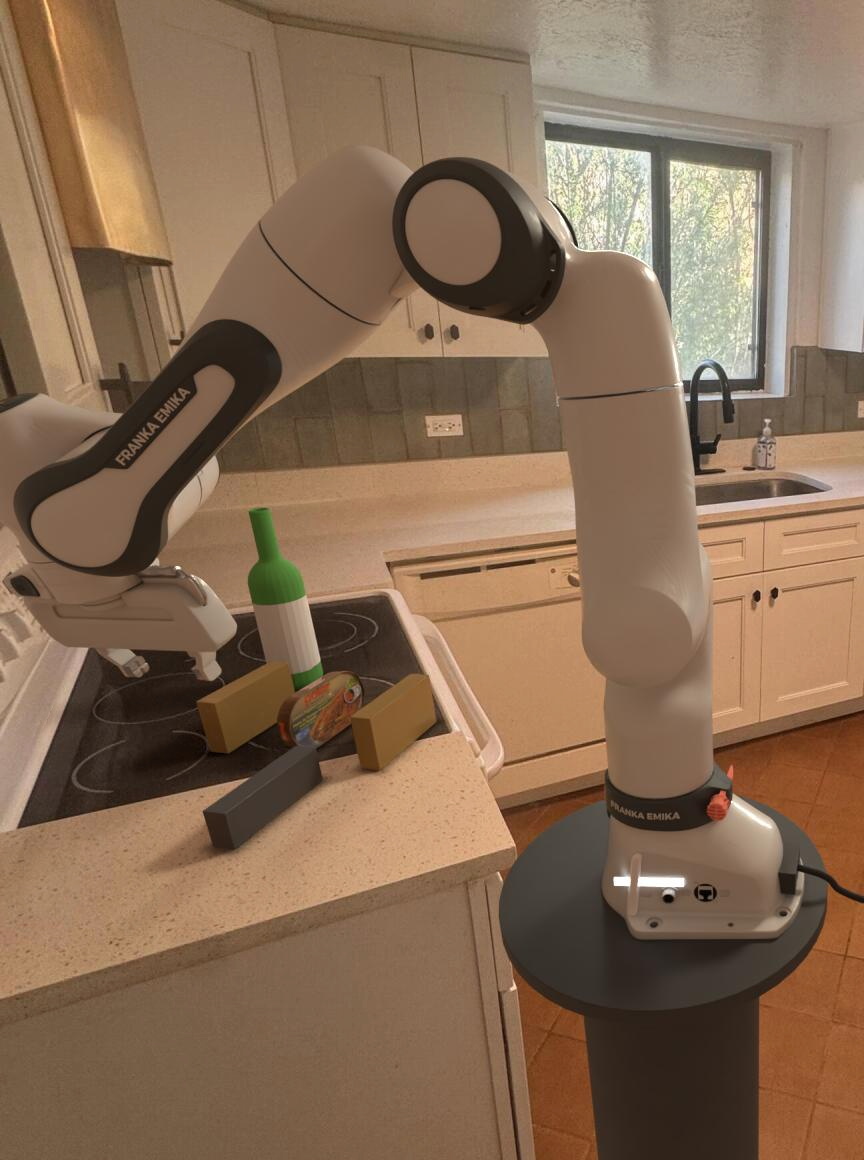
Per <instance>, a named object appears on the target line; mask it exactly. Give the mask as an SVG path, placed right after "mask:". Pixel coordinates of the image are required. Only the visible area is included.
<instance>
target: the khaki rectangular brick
mask: <svg viewBox="0 0 864 1160" xmlns="http://www.w3.org/2000/svg"><path fill="white" fill-rule="evenodd" d="M430 679H431V678H430V674H423V673H413V672H412V673H409V674H408V675H407V676H405V677H404V678H402V679H401V680H400V681H399V682H397V683H395V684H394V685H392V686H391V687H390V688H389V689H387V690H385V691H384V692H383V693H381V694H380V695H379V696H377V697H376V698H374V699H373V700H372V701H370V702H368V703H367V704H366V705H364V706H363V708H362V709H360V710H359V711H358V712H356V713H355V714H353V715H352V716H351V717H350V719H351V728H352V733H353V738H354V743H355V747H356V748H355V749H356V752H357V757H358V762H359V763H358V764H359V766H360V769H363V770H365V769H366V770H373V771H381V770H383V769H384V768H385V767H386V766H387V765H388V764H389V763H391V762H392V761H393V760H394V759H396V757H398V756H399V755H400V754H401V753H403V752H404V751H405V750H406V749H407V748H408V747H409V746H411V745H412V744H413V743H414V742H415V741H416V740H417V739H419V737H421V736H422V735H423V734H424V733H426V732H427V731H428V730H429V729H430V728H432V727H433V726H434V725H435V724H436V723H437V717H436V716H437V715H436V711H435V705H434V704H435V703H434V698H433V691H432V685H431V680H430Z"/></svg>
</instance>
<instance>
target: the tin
mask: <svg viewBox="0 0 864 1160" xmlns="http://www.w3.org/2000/svg"><path fill="white" fill-rule="evenodd" d="M365 700H366V690H365V687H364V683H363V681H362V680H361V678H360V676H359V675H358V674H356V673H355V672H353V671H350V670H343V671H330V672H327V673H326V674H323V676H322V677H320V678H319V679H317V680H315V681H314V682H312V683H310V684H309V685H307V686H305V687H304V688H302V689H300V690H298V691H295V693H294V694H292V695H291V696H289V697H288V698H287V699H286V700H285V701H284V702H283V704H282V706H281V708H280V710H279V713H278V716H277V723H276V724H277V731H278V734H279V736H280V739H281V740H282V742H283V743H284V744H285V745H286V746H288V747H289V748H291V749H292V748H294V747H295V746H304V747H313V748H316V749H318V748H320V747H322V746H323V745H324V744H325V743H327V742H328V741H330V740H331V739H332V738H334V737H336V736H337V735H338V734H339V733H340V732H342V731H343V730H345V729H346V728H348V727H350V726H352V724H351V719H350V717H351V716H352V715H353V714H355V713H356V712H358V711H359V710H360V709H362V708H363V707H365Z"/></svg>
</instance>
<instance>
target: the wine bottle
mask: <svg viewBox="0 0 864 1160" xmlns="http://www.w3.org/2000/svg"><path fill="white" fill-rule="evenodd" d="M248 516H249V520H250V524H251V529H252V533H253V538H254V543H255V547H256V551H257V556H258V560H257V561H256V563H254V565H253V566H252V567H251V569H250V570H249V572H248V575H247V586H248V591H249V595H250V599H251V604H252V609H253V612H254V613H253V614H254V617H255V621H256V626H257V629H258V634H259V637H260V642H261V645H262V650H263V655H264V659H265V662H266V663H265V664H267V663H269V662H271V661H275V662H286V663H288V664H289V669H290V673H291V677H292V682H293V686H294V690H295V692H297V691H299V690H300V689H302V688H304V687H305V686H307V685H309V684H310V683H312V682H314V681H315V680H317V679H319V678H320V677H322V676H324V669H323V665H322V660H321V656H320V650H319V646H318V641H317V637H316V632H315V628H314V624H313V619H312V614H311V610H310V606H309V600H308V596H307V592H306V588H305V583H304V579H303V576H302V573H301V571H300V569H299V568H298V566H296V564H294V563H293V562H291V560H288V559H286V558H284V557H283V556H282V554H281V551H280V546H279V542H278V538H277V534H276V529H275V525H274V521H273V516H272V512H271V509H270V508H268V507H255V508H252V509H250V510H248Z"/></svg>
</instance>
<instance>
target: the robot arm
mask: <svg viewBox="0 0 864 1160" xmlns="http://www.w3.org/2000/svg"><path fill="white" fill-rule="evenodd" d="M571 223H572V222H571V221H570V220H569V218H568V217H567V215H566V214H565V213H564V212H563V210H562V209H561V208H560V207H559V206H558V205H557V204H556V203H554V202H553V200H551V199H550V198H548V197H546V196H545V195H543V193H542V192H540V190H539V189H537V188H536V187H535V186H534V185H533V184H532V183H530V182H529V181H527V180H526V179H524V178H523V177H520V176H519V175H516V174H514V173H513V172H510V171H508V170H504V169H502V168H499V167H498V166H496V165H494V164H492V163H490V162H489V161H485V160H482V159H479V158H474V157H468V156H467V157H466V156H453V157H444V158H440V159H436V160H433V161H431V162H428V163H426V164H424V165H422V166H421V167H419V168H418V169H416V170H415V171H412V169H410V168H409V167H408V166H407V165H406V164H405V163H403V162H401V160H399V159H397V158H396V157H394V156H393V155H391V154H389V153H387V152H386V151H384V150H381V149H378V148H377V147H374V146H370V145H366V144H348V145H345V146H342V147H340V148H339V149H337V150H336V151H334V152H332V153H331V154H330V155H328V156H327V157H325V158H324V159H322V160H321V161H320V162H318V163H317V164H316V165H315V166H313V167H312V168H310V170H308V171H307V172H306V173H304V174H303V175H302V176H301V177H299V179H298V180H296V181H295V182H294V183H293V184H292V185H291V186H290V187H289V188H287V190H285V192H284V193H283V194H282V195H281V196H279V198H278V199H277V200H276V201H274V203H273V204H272V205H271V206H270V207H269V208H268V209H267V210H266V212H265V213H264V214H263V215H262V216H261V218H260V219H259V220H258V221H257V222H256V224H255V225H254V226H253V227H252V228H251V230H250V231H249V232H248V234H247V235H246V236H245V238H244V239H243V240H242V242H241V244H240V245H239V247H238V248H237V250H236V251H235V253H234V254H233V256H232V257H231V259H230V260H229V262H228V264H227V265H226V266H225V268H224V270H223V272H222V273H221V275H220V276H219V278H218V280H217V282H216V284H215V286H214V287H213V289H212V290H211V293H210V294H209V295H208V297H207V300H206V301H205V303H204V304H203V306H202V308H201V309H200V311H199V313H198V315H197V316H196V318H195V319H194V321H193V323H192V325H191V326H190V328H189V329H188V331H187V333H186V334H185V336H184V337H183V339H182V341H181V343H180V344H179V346H178V347H177V349H176V350H175V352H174V354H173V355H172V356H171V358H170V359H169V361H168V362H167V364H166V365H165V366H164V367H163V368H162V369H161V371H160V372H158V374H157V375H156V376H155V378H153V379H152V381H151V382H150V383H149V384H148V385H147V387H145V389H144V390H143V391H142V392H141V393H140V395H139V396H138V397H137V398H135V400H133V402H132V403H130V405H129V406H128V407H127V409H126V410H125V411H124V412H111V411H110V412H108V411H103V410H95V409H89V408H85V407H79V406H76V405H75V406H74V405H70V404H67V403H64V402H62V401H60V400H58V399H56V398H53V397H52V396H49V395H47V394H45V393H42V392H41V393H40V392H23V393H19V394H16V395H11V396H9V397H6V398H3V399H0V523H1V524H2V525H4V526H5V527H6V528H7V529H8V530H10V532H12V533H13V535H14V536H15V537H16V539H17V541H18V543H19V547H20V550H21V554H22V555H23V558H25V560H26V561H27V563H26V564H24V565H22V566H21V567H20V568H18V569H16V570H15V571H13V572H12V573H10V574H9V575H7V576H5V578H3V582H4V585H5V586H6V588H7V589H8V590H9V591H10V592H11V594H13V595H14V596H16V597H18V598H19V597H20V598H23V603H24V605H25V607H26V609H27V610H28V611H29V613H30V614H31V615H32V617H33V618H34V619H35V620H36V621H37V623H39V625H40V626H41V628H42V629H43V630H44V631H45V632H46V633H47V634H48V636H50V637H51V638H52V639H53V640H54V641H55V642H57V643H59V644H60V645H62V646H64V647H66V648H80V649H81V648H85V649H95V650H96V653H98V654H99V655H100V656H101V657H103V659H106V660H107V661H108V662H110V663H112V664H113V665H115V666H116V667H118V669H119V670H120V671H121V672H122V674H123V675H124V677H126V678H141V677H143V676H144V674H146V673H148V672H149V671H150V666H149V664H148V663H147V662H146V659H145V658H144V657H143V656H142V655H137V654H135V653H134V651H132V650H137V651H140V650H141V651H163V652H164V651H168V652H186V653H187V655H188V656H189V658H194V660H195V665H194V666H192V667H191V668H190V670H191V671H192V674H194V675H195V676H196V677H195V678H196V679H197V680H198V681H206V682H214V680H216V679H217V678H218V677H220V675H221V674H222V668H221V666H220V665H219V664H218V662H217V660H216V659H217V651H218V650H220V649H221V648H222V647H223V646H225V645H226V644H227V643H228V642H230V641H231V640H232V639H233V638H234V637H235V635H236V634H237V629H238V624H237V621H236V620H235V619H234V617H233V616H232V614H231V613H230V611H229V610H228V609H227V607H226V606H225V604H224V603H223V602H222V601H221V599H220V598H219V597H218V595H217V594H216V593H215V591H214V590H213V589H212V588H211V587H210V585H208V583H206V582H205V581H204V580H202V578H200V577H198V576H197V575H195V574H192V573H189V572H187V571H186V570H183V569H182V567H181V566H178V565H176V564H175V565H174V564H166V565H160V559H159V558H158V557H159V555H160V554H161V553H162V551H163V550H164V549H165V547H166V545H167V543H168V542H169V541H170V540H171V539H172V538H173V537H174V536H175V535H176V534H177V533H178V532H179V531H180V530H181V528H182V527H183V526H184V525H185V524H186V523H187V522H188V521H189V520H190V519H191V517H192V516H194V514H195V513H196V512H197V511H198V510H199V509H200V508H201V506H202V505H204V503H205V502H206V501H207V500H208V499H209V498H210V496H211V495H212V493H213V492H214V490H215V489H216V487H217V486H218V484H219V481H220V477H221V467H220V462H219V459H218V456H217V453H219V451H220V450H221V449H222V448H223V447H224V446H225V445H226V444H227V443H228V441H230V440H231V438H232V437H233V436H234V435H236V433H238V432H239V430H241V429H242V428H243V427H244V426H246V424H248V423H249V422H250V421H252V420H253V419H254V418H256V417H257V416H258V415H260V414H261V413H263V412H264V411H265V410H267V409H268V408H270V407H271V406H273V405H274V404H276V403H277V402H279V401H280V400H282V399H283V398H285V397H287V396H288V395H290V394H291V393H293V392H295V391H296V390H298V389H299V388H301V387H302V386H304V385H305V384H307V383H309V382H310V381H312V380H314V379H316V378H317V377H318V376H320V375H321V374H323V373H324V372H326V371H327V370H329V369H330V368H332V367H333V366H335V365H337V364H338V363H339V362H341V361H342V360H344V359H345V358H346V357H347V356H349V355H350V354H351V353H352V352H354V351H355V350H356V349H358V348H359V347H360V346H361V345H362V344H363V343H365V342H366V340H368V339H369V338H370V337H371V336H372V335H373V334H374V333H375V332H376V331H377V330H378V329H379V328H380V327H381V326H382V325H383V324H384V322H386V320H387V319H388V318H389V317H390V316H391V315H392V313H394V311H395V310H396V309H397V308H398V307H399V305H401V304H402V303H403V302H404V301H405V300H406V299H407V298H408V297H409V296H410V295H412V294H413V293H414V292H416V291H417V290H419V289H422V290H423V291H424V292H425V293H427V294H428V295H429V296H430V297H432V298H434V299H435V300H436V301H437V302H440V303H441V304H443V305H445V306H447V307H449V308H451V309H453V310H456V311H459V312H460V313H464V314H467V315H471V316H477V317H483V318H488V319H494V320H499V321H502V322H508V323H512V324H517V325H522V326H525V325H530V326H532V327H533V328H534V329H535V330H536V331H537V332H538V334H539V335H540V337H541V339H542V340H543V342H544V344H545V347H546V351H547V353H548V356H549V361H550V365H551V368H552V369H551V370H552V374H553V379H554V380H553V381H554V385H555V392H556V397H557V404H558V408H559V414H560V415H559V416H560V419H561V425H562V431H563V437H564V442H565V446H566V453H567V458H568V463H569V470H570V475H571V482H572V488H573V498H574V499H573V501H574V516H575V517H574V519H575V544H576V556H577V557H576V558H577V571H578V572H577V573H578V582H579V583H578V584H579V591H580V592H579V594H580V605H581V642H582V647H583V651H584V653H585V656H586V657H587V660H588V661H589V662H590V664H591V665H592V667H593V668H594V669H595V670H596V671H597V672H598V673H599V674H600V675H601V676H603V677H604V678H605V685H604V695H603V696H604V697H603V707H602V708H603V719H604V720H603V723H604V734H605V736H604V737H605V749H606V758H607V759H606V760H607V761H606V763H607V768H606V769H605V771H604V791H603V792H604V800H605V803H606V808H607V815H608V817H609V818H610V835H609V848H608V855H607V861H606V866H605V870H604V873H603V876H602V882H601V887H602V892H603V895H604V898H605V899H606V901H607V902H608V904H609V905H610V906H611V907H612V908H613V909H614V910H615V911H616V912H618V913H619V914H620V915H621V916H622V917H623V918H624V919H625V921H626V924H627V927H628V929H629V931H630V933H631V935H632V936H633V937H635V938H637V939H642V940H658V939H773V938H777V937H779V936H780V935H781V934H783V933H784V932H785V931H786V930H787V929H788V928H789V927H790V926H791V924H792V923H793V921H794V920H795V918H796V916H797V914H798V912H799V909H800V906H801V903H802V899H803V894H804V886H805V877H804V873H806V874H810V875H813V876H816V877H819V878H821V879H823V880H825V881H827V882H828V885H829V886H830V888H832V890H833V891H835V892H836V893H837V894H839V895H841V896H843V897H844V898H847V899H850V900H852V901H854V902H858V903H860V904H864V895H862V894H858V893H856V892H854V891H851V890H849V889H846V888H845V887H843V886H841V885H840V884H839V883H838V882H837V880H836V879H835V878H834V876H832V875H830V874H829V873H827V872H826V873H825V872H823V871H821V870H818V869H815V868H811V867H807V866H804V865H803V864H802V861H801V858H800V843H798V842H788V841H784V844H783V843H782V839H781V835H780V832H779V829H778V827H777V825H776V823H775V822H774V821H773V820H772V819H771V818H770V817H768V816H767V815H765V814H763V813H762V812H760V811H759V810H757V809H756V808H754V807H753V806H751V805H750V804H748V803H747V802H745V801H744V800H742V799H741V798H739V797H738V796H736V795H737V794H736V793H733V790H734V789H733V779H734V766H733V764H730V766H729V769H728V771H727V774H726V773H725V772H724V771H723V770H722V769H721V767H719V765H718V764H717V763H716V761H715V759H714V733H713V732H714V731H713V730H714V728H713V727H714V726H713V725H714V724H713V666H714V665H713V663H714V660H713V659H714V652H713V651H714V573H713V566H712V563H711V560H710V557H709V555H708V553H707V551H706V548H705V547H704V545H703V544H702V543H701V541H700V540H699V528H698V527H699V526H698V525H699V524H698V516H697V515H698V513H697V512H698V511H697V499H696V479H695V478H696V475H695V465H694V459H693V450H692V443H691V434H690V427H689V419H688V413H687V412H688V411H687V403H686V395H685V389H684V388H685V387H684V383H683V382H684V380H683V373H682V366H681V361H680V360H681V359H680V356H679V350H678V345H677V339H676V336H675V332H674V327H673V323H672V320H671V316H670V313H669V310H668V306H667V302H666V299H665V296H664V293H663V290H662V286H661V284H660V281H659V279H658V277H657V275H656V273H655V272H654V270H653V269H652V268H651V266H650V265H648V264H647V263H646V262H645V261H644V260H642V259H640V258H638V257H636V256H634V255H632V254H629V253H626V252H621V251H616V250H607V249H605V250H585V249H581V248H580V243H579V241H578V237H577V235H576V231H575V229H574V227H573V225H572V224H571ZM735 794H736V795H735ZM782 916H784V917H782ZM653 927H655V928H653Z"/></svg>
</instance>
